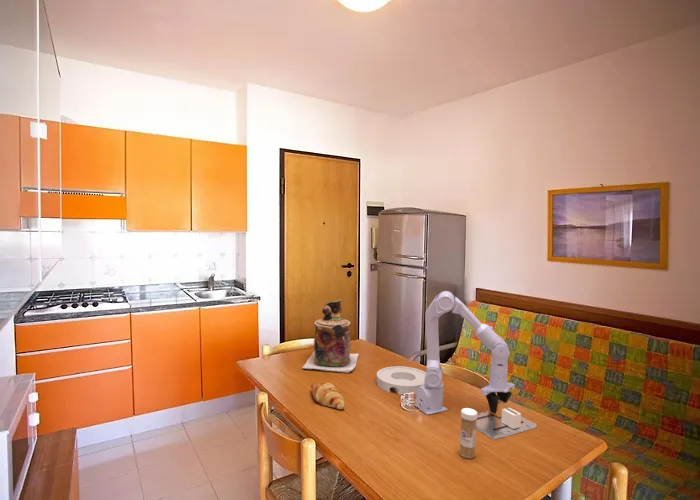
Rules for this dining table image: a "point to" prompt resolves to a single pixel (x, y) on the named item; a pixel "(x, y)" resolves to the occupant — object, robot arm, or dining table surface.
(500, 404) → the cap
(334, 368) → the cookie jar
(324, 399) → the croissant
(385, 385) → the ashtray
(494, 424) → the console
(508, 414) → the fader cap
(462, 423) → the sprinkles bottle
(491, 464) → the dining table surface
